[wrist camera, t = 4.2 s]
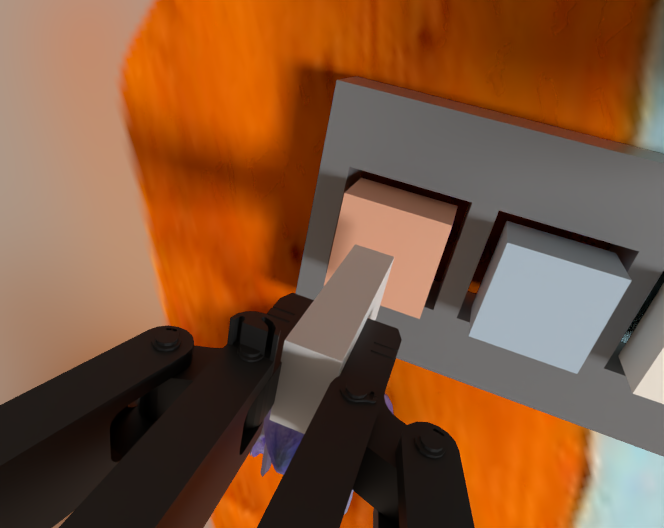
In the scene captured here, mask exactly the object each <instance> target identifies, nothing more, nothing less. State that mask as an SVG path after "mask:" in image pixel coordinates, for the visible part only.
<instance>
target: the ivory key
mask: <svg viewBox="0 0 664 528" xmlns="http://www.w3.org/2000/svg"><path fill="white" fill-rule="evenodd" d="M618 357H619V359H620V362H621V364H622V367H623V370H624V372H625V375H626V377H627V380H628V383H629V385H630V388H631V390H632V393H633V394H636V395H639V396H642V397H644V398H647V399H650V400H653V401H656V402H659V403H662V404H664V283H663V285H662V286H661V288H660V289H659V291H658V293H657V294H656V296H655V297H654V299H653V301H652V302H651V304H650V305H649V307H648V309H647V310H646V312H645V314H644V315H643V317H642V318H641V320H640V322H639V323H638V325H637V326H636V328H635V330H634V331H633V333H632V334H631V336H630V338H629V339H628V341H627V342H626V344H625V346H624V347H623V349H622V351H621V352H620V354H619V355H618Z"/></svg>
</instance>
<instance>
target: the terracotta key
mask: <svg viewBox="0 0 664 528" xmlns="http://www.w3.org/2000/svg"><path fill="white" fill-rule="evenodd" d="M457 207H458V206H456V205H452V204H449V203H445V202H442V201H439V200H435V199H432V198H429V197H425V196H422V195H418V194H415V193H412V192H408V191H405V190H402V189H398V188H395V187H391V186H388V185H385V184H381V183H378V182H375V181H371V180H368V179H364V178H360V179H359V180H358V181H357V182H356V183H355V184H354V185H352V186H351V187H350V188H349V189H348V190H347V191H346V192H345V193H344V197H343V202H342V206H341V211H340V215H339V219H338V224H337V228H336V233H335V237H334V242H333V246H332V251H331V255H330V260H329V264H328V269H327V273H326V278H325V282H324V286H325V285H326V283H327V282H328V281H329V279H330V278H331V276H332V275H333V274H334V272H335V271H336V270H337V268H338V267H339V266H340V264H341V263H342V262H343V260H344V259H345V257H346V256H347V255H348V253H349V252H350V251H351V249H352V248H353V247H354V245H355V244H356V245H359V246H362V247H365V248H369V249H372V250H375V251H378V252H381V253H384V254H387V255H390V256H393V257H394V260H393V264H392V267H391V270H390V274H389V277H388V280H387V284H386V287H385V290H384V294H383V297H382V301H381V304H380V305H381V306H383V307H386V308H389V309H392V310H395V311H398V312H401V313H404V314H406V315H409V316H412V317H415V318H418V319H420V317H421V314H422V311H423V308H424V305H425V302H426V300H427V297H428V294H429V291H430V288H431V285H432V282H433V280H434V277H435V274H436V271H437V268H438V265H439V262H440V260H441V257H442V254H443V251H444V248H445V245H446V242H447V240H448V237H449V234H450V231H451V228H452V225H453V222H454V218H455V214H456V211H457Z"/></svg>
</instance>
